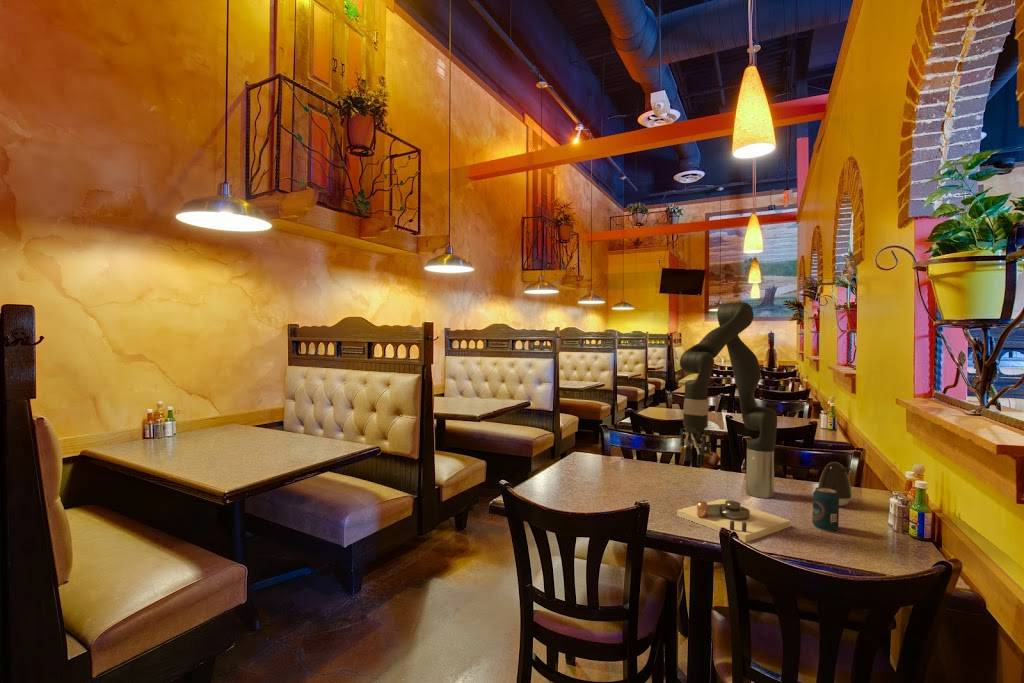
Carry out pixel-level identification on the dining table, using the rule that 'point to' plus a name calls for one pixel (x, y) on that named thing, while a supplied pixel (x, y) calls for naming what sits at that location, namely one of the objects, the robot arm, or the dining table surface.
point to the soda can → (825, 509)
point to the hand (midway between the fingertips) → (694, 463)
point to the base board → (738, 522)
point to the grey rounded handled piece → (723, 510)
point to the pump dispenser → (837, 481)
